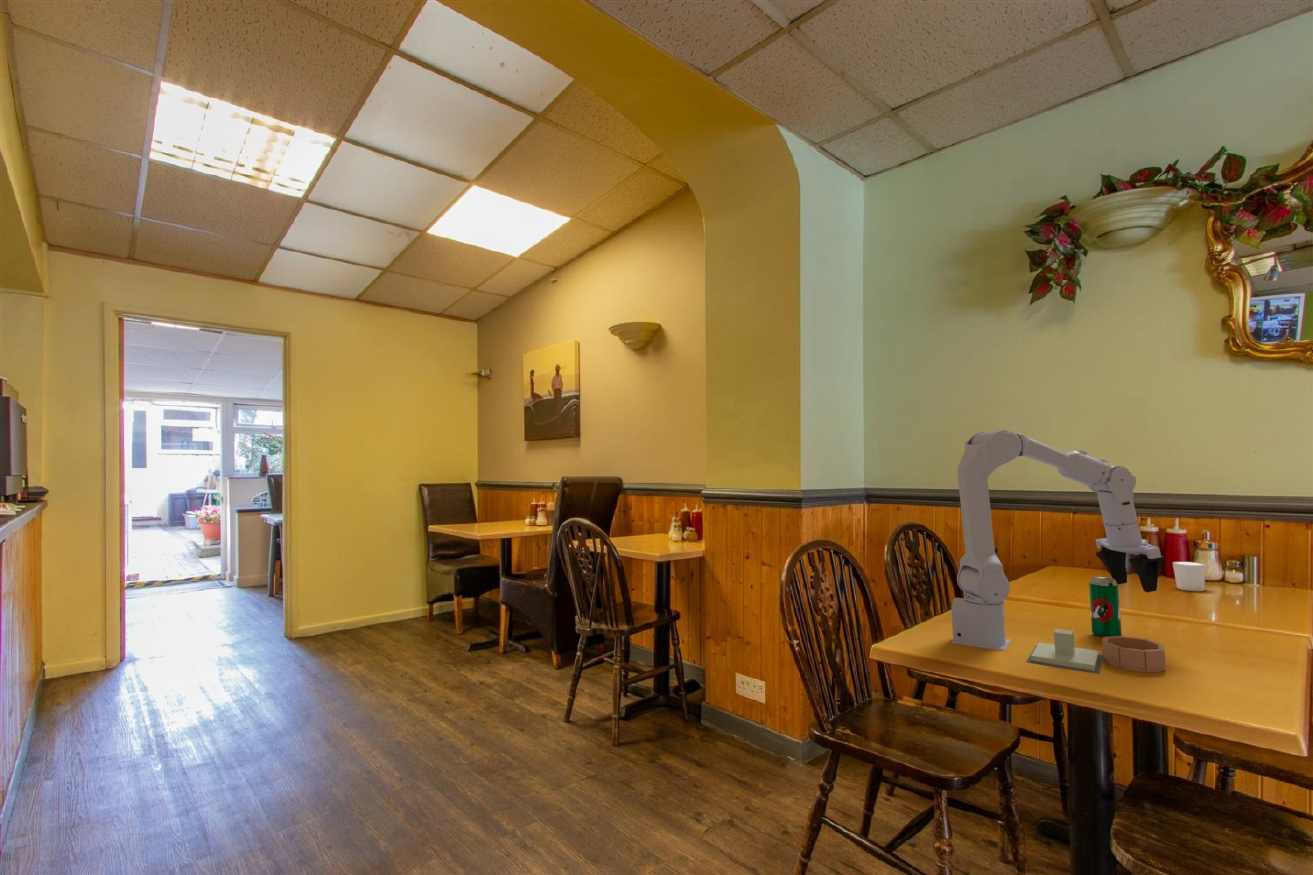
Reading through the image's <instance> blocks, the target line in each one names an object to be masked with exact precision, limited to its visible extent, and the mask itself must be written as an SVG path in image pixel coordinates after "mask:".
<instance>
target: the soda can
mask: <svg viewBox="0 0 1313 875" xmlns="http://www.w3.org/2000/svg"><path fill="white" fill-rule="evenodd" d="M1119 585H1120V584H1119ZM1119 585H1118V584H1117V582H1116V579H1113V578H1112V577H1103V576H1092V577H1090V580H1089V582H1088V590H1089V592H1088V594H1089V607H1090V609H1089V610H1090V623H1091V633H1092V634H1093V636H1095V637H1101V638H1103V637H1112V636H1123V634H1122V631H1123V630H1122V619H1121V618H1122V616H1121V603H1120V600H1121V599H1120V586H1119Z"/></svg>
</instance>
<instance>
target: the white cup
mask: <svg viewBox="0 0 1313 875" xmlns="http://www.w3.org/2000/svg"><path fill="white" fill-rule="evenodd" d="M1172 568H1173V573H1174V578H1175V583H1176V588H1177V589H1178V590H1181V591H1189V592H1203V591H1205V583H1206V582H1205V581H1206V580H1205V579H1206V564H1205V563H1201V562H1196V561H1195V562H1194V561H1173V562H1172Z"/></svg>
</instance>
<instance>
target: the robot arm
mask: <svg viewBox="0 0 1313 875" xmlns="http://www.w3.org/2000/svg"><path fill="white" fill-rule="evenodd" d="M963 451H964V452H963V453H962V454H963V455H962V456H961V457H960V458H961V459H960V461H959V463H958V466H957V472H956V473H957V482H958V490H959V491H958V493H959V500H960V511H961V512H960V513H961V522H962V530H963V539H964V540H963V541H964V550H965V553H964V554H963V556H962V557H961V558H960V559H959V570H958V572H957V575H956V581H957V586H958V587H959V588H960V590H962V591H963V598H962V597H954V599H953V601H952V604H951V623H952V626H951V628H952V644H956V645H957V644H958V645H963V646H970V647H976V648H982V649H989V650H994V651H1005V650H1006V648H1007V647H1009V645H1010V643H1011V642H1012V640H1011V639H1010V638H1006V626H1005V625H1006V624H1005V623H1006V622H1005V607H1004V604H1005V599H1007V598H1008V596H1009V594H1010V590H1011V585H1010V582H1009V579H1008V577H1007V576H1006V574H1005V572H1004V571H1005V570H1004V565H1003V563H1002V562H1001V561H1000V559H999V557H998V556H997V555H996V550H995V540H994V538H995V537H994V530H993V520H992V511H991V500H990V492H989V482H988V481H989V480H988V478H989V477H990V475H991V474H993V473H994V472H995V470H997V469H998V468H999V467H1001V466H1003V465H1005V464H1008V463H1009V462H1012V461H1013V460H1015V459H1016V458H1017V457H1024V458H1028V459H1032V460H1034V461H1037V462H1040V463H1043V464H1046V465H1049V466H1051V467H1055V468H1057V471H1058V473H1059V474H1060V476H1062V477H1064V478H1067V479H1070V480H1072V481H1075V482H1077V483H1080V484H1083V485H1085V486H1087V487H1088V489H1090V490H1091V491H1092V492H1095V493H1096V496H1097V500H1098V504H1099V509H1100V513H1101V517H1102V522H1103V526H1104V530H1105V535H1106V537H1103V538H1097V539H1095V544H1096V548H1097V549H1100V551H1096V552H1095V556H1096V557H1097V558H1098V559H1099V560H1100V562H1102V563H1103V565H1104V566H1105V567H1106V569H1107V571H1108V573H1109V574H1110V576H1111V578H1113V579H1116V582H1117V584H1118V585H1122V584H1127V583H1128V574H1127V566H1126V563H1127V562H1126V560H1127V554H1132V555H1135V557H1132V558H1131V557H1130V558H1128V562H1129V563H1130V564H1131V565H1132V567H1133V569H1134V570H1135V572H1136V574H1137V576H1138V580H1139V582H1140V585H1141V587H1142V590H1143V592H1144V593H1151V592H1157V590H1158V581H1159V580H1158V579H1159V575H1160V574H1159V573H1160V570H1161V568H1162V565H1163V563H1164V562H1165V557H1164V555H1161V551H1160V547H1158V546H1154V545H1152V544H1149V543H1148V540H1147V539H1143V538H1142V535H1141V534H1142V533H1141V528H1140V525H1139V520H1138V516H1137V512H1136V507H1135V503H1134V498H1135V494H1134V489H1135V487H1136V484H1137V477H1136V476H1134V475H1133V473H1132V472H1131V471H1130V470H1129V469H1128V468H1126V467H1124V466H1121V465H1110V464H1109V462H1108V460H1106V459H1097V458H1094V457H1092V456H1090V455H1087V454H1088V452H1087V451H1084V450H1082V449H1080V450H1079V449H1078V450H1069V451H1068V452H1062V451H1061V450H1057V449H1056V448H1055V447H1051V446H1050V445H1047V444H1044V443H1042V442H1040V441H1037V440H1036V439H1033V438H1032V437H1028V436H1027V435H1025V434H1024V433H1020V432H1019V433H1018V432H1014V431H1012V430H1009V429H1002V430H1001V429H1000V430H997V431H995V430H994V431H979V432H977V433H974V434H973V435H972V436H971V437H970V438H968V440H966V442H964V450H963ZM1136 555H1137V557H1136Z"/></svg>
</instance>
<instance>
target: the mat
mask: <svg viewBox="0 0 1313 875" xmlns="http://www.w3.org/2000/svg"><path fill="white" fill-rule="evenodd" d="M1036 647H1037V645H1035V646H1034V648H1033V650H1032V652H1031V653H1030V655H1029V656H1028V658H1027V660H1026V661H1025V663H1029V664H1035V665H1040V666H1041V665H1042V666H1048V667H1053V668H1059V669H1064V670H1065V669H1066V670H1072V671H1077V672H1084V673H1091V674H1094V675H1095V674H1097V675H1100V673H1101V669H1102V665H1103V661H1104V659H1103V654H1099V658H1098V662H1097V665H1096V669H1095V671H1091V670H1085V669H1079V668H1072V667H1066V666H1060V665H1054V664H1047V663H1041V662H1035V661H1031V655H1032V653H1033V652H1034V650H1035V648H1036Z"/></svg>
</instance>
